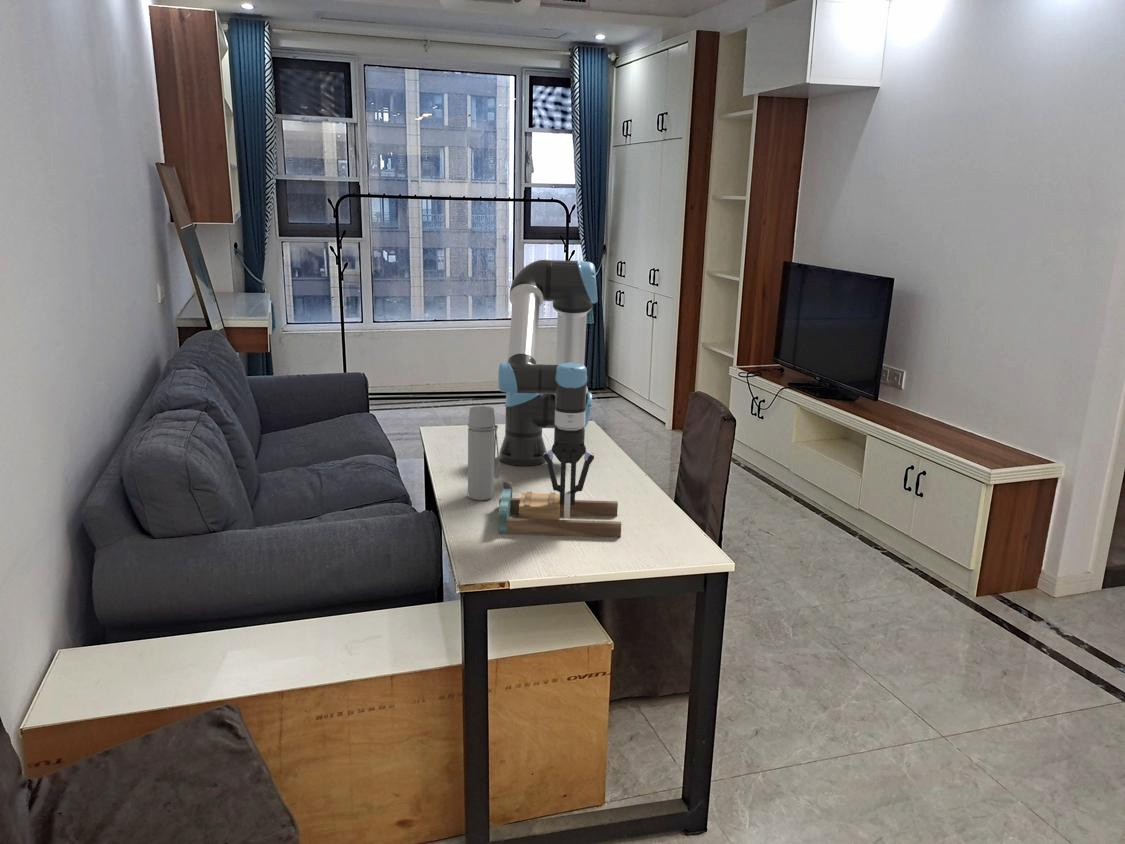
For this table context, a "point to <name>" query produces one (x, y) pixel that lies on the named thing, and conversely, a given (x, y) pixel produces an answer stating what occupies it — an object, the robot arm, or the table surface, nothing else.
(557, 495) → the crate
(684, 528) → the table surface
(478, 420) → the water bottle
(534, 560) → the table surface
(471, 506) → the table surface
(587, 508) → the bay
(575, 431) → the robot arm
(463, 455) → the table surface
